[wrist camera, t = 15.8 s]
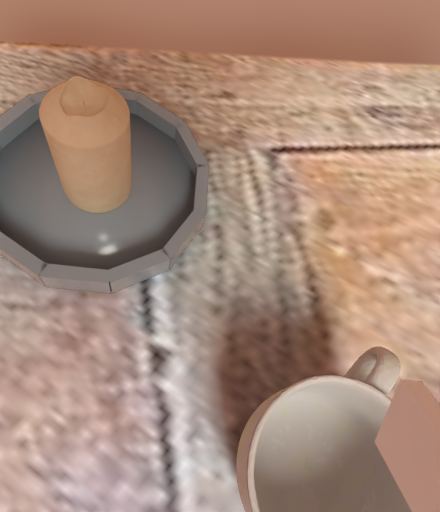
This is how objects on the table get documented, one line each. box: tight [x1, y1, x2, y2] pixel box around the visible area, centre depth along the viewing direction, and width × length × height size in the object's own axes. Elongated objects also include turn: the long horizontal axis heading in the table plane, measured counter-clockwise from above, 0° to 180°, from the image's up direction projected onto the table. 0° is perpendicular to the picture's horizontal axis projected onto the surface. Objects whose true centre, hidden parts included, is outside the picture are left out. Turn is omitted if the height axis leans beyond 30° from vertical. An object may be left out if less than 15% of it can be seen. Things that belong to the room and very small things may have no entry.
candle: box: [39, 76, 132, 213], centre depth 28 cm, size 6×6×10 cm
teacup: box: [236, 347, 412, 512], centre depth 25 cm, size 14×11×8 cm
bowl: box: [0, 88, 209, 293], centre depth 32 cm, size 18×18×2 cm
